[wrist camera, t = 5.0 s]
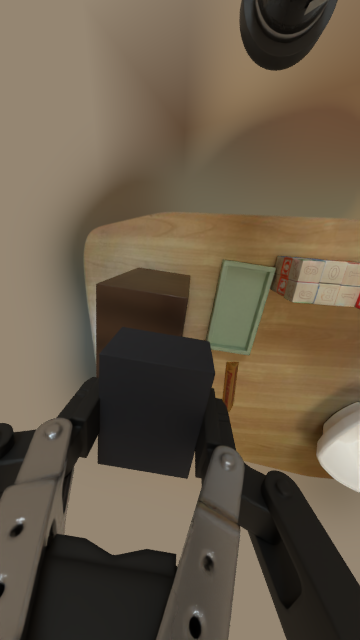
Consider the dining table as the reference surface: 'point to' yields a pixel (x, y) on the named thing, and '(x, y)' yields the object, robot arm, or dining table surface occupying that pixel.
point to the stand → (140, 304)
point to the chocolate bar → (230, 384)
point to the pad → (152, 400)
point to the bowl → (342, 446)
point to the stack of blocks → (317, 281)
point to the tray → (238, 306)
